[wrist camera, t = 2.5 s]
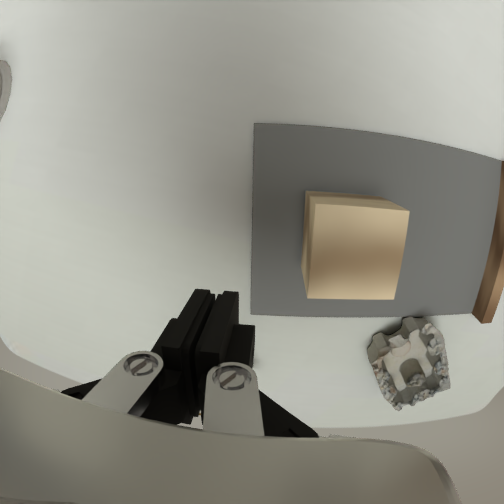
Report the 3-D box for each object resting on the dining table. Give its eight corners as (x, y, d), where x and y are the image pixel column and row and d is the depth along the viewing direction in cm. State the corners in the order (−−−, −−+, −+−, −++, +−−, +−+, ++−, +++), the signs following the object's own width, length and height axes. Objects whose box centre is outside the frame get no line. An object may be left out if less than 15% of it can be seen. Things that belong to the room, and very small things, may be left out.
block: (305, 190, 22) (315, 203, 17) (378, 195, 22) (409, 211, 16) (300, 263, 24) (307, 298, 19) (369, 266, 24) (393, 299, 18)
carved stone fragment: (359, 338, 26) (368, 366, 23) (426, 303, 25) (444, 326, 21) (385, 397, 29) (393, 423, 25) (441, 369, 27) (454, 392, 24)
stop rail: (499, 160, 20) (515, 163, 17) (509, 163, 19) (525, 166, 17) (470, 311, 25) (481, 323, 23) (480, 311, 25) (491, 322, 22)
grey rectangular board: (254, 123, 21) (254, 123, 21) (499, 160, 20) (501, 160, 19) (250, 312, 26) (250, 314, 26) (470, 311, 25) (471, 313, 25)
